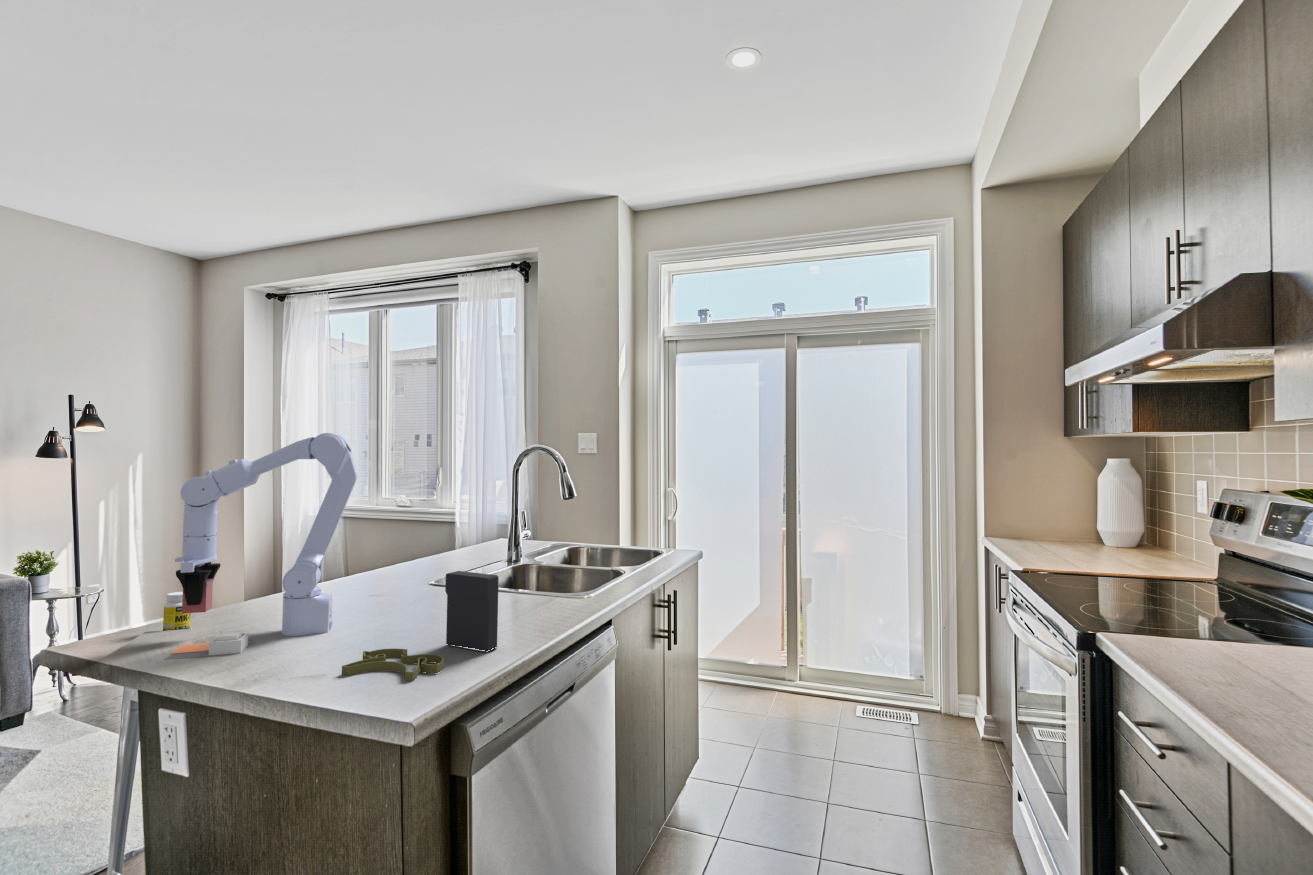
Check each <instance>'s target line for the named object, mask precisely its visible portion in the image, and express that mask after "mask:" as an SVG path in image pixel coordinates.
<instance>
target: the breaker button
mask: <svg viewBox="0 0 1313 875" xmlns="http://www.w3.org/2000/svg"><path fill="white" fill-rule="evenodd" d="M243 633H244V632H243V630H232V631H220V632H219V633H217V635H216V636H215V637H214V638H215V641H228V640H239V639H240V638H241V637H242V635H243Z"/></svg>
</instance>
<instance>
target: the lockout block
mask: <svg viewBox="0 0 1313 875" xmlns="http://www.w3.org/2000/svg"><path fill="white" fill-rule="evenodd" d="M213 583H214V580H213V579H207V580H206V583H205V587H204V592H203V597H202V601H201V603H200V605H187V602H186V599H185V594H184V590H183V589H182V592H183V599H182V614H183V613H191V614H195V613H196V614H197V613H207V612H208V611H209V610H210V609H212V608H213V589H214V588H213V585H214V584H213Z"/></svg>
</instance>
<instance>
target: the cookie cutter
mask: <svg viewBox="0 0 1313 875" xmlns="http://www.w3.org/2000/svg"><path fill="white" fill-rule="evenodd" d="M400 657H401V658H400ZM386 658H400V662H398V661H392V660H391V661H390V660H386ZM427 662H436V663H439V664H434V663H427ZM444 662H445V660H444V657H443V656H442V655H441V654H436V653H435V654H434V653H428V654H427V653H426V654H425V653H423V654H421V653H420V654H414V655H413V654H412V655H410V654H409V655H408V649H406V648H380V649H375V650H370V651H369V650H363V651H362V660H357V661H353V662H350V663H347V664H344V665H341V676H344V677H352V676H355V675H359V674H365V673H369V672H381V671H382V672H383V671H384V670H385V671H386V670H391V671H390V672H397V671H399V672H398V673H400V672H402V673H404V674H405V675H404V674H403V675H404V682H410V681H413V682H414V681H416V680H417V679H418V677H419V675H420V673H422V672H426V673H425V674H427V673H438V672H440V671H441V670H442V669H443V670H444V668H443V667H444V666H445V665H444ZM414 663H418V664H416V667H415V669H414V670H413V671H409V670H408V669H409V668H408V665H405V664H409V665H415V664H414ZM419 666H420V667H419ZM443 670H442V671H443ZM442 671H441V672H442ZM441 672H440V673H441ZM402 673H401V674H402ZM418 674H419V675H418ZM417 676H418V677H417ZM415 679H416V680H415Z"/></svg>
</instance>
